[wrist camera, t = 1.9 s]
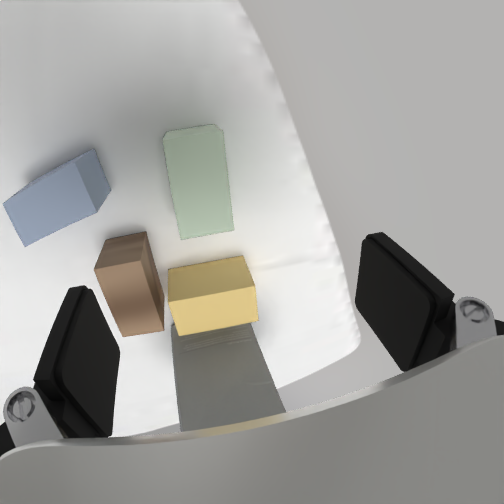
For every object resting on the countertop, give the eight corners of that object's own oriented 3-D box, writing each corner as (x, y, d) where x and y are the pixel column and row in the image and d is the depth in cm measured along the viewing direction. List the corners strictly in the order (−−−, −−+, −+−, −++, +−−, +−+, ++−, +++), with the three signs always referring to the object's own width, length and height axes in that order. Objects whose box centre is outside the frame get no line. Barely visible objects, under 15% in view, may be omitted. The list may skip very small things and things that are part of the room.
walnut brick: (106, 239, 25) (93, 269, 20) (146, 231, 25) (140, 260, 21) (128, 301, 28) (122, 337, 24) (164, 295, 29) (164, 330, 24)
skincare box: (184, 361, 34) (200, 487, 20) (168, 317, 30) (177, 462, 16) (254, 347, 35) (295, 468, 21) (248, 301, 31) (298, 438, 18)
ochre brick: (177, 300, 29) (178, 335, 25) (168, 268, 27) (168, 302, 23) (246, 287, 30) (258, 320, 26) (242, 254, 28) (255, 285, 24)
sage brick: (166, 131, 22) (162, 140, 17) (214, 123, 22) (222, 130, 18) (180, 213, 25) (180, 240, 21) (224, 205, 26) (234, 230, 21)
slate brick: (46, 220, 22) (24, 247, 18) (29, 183, 20) (2, 203, 16) (111, 189, 23) (96, 212, 18) (94, 148, 21) (74, 162, 16)
